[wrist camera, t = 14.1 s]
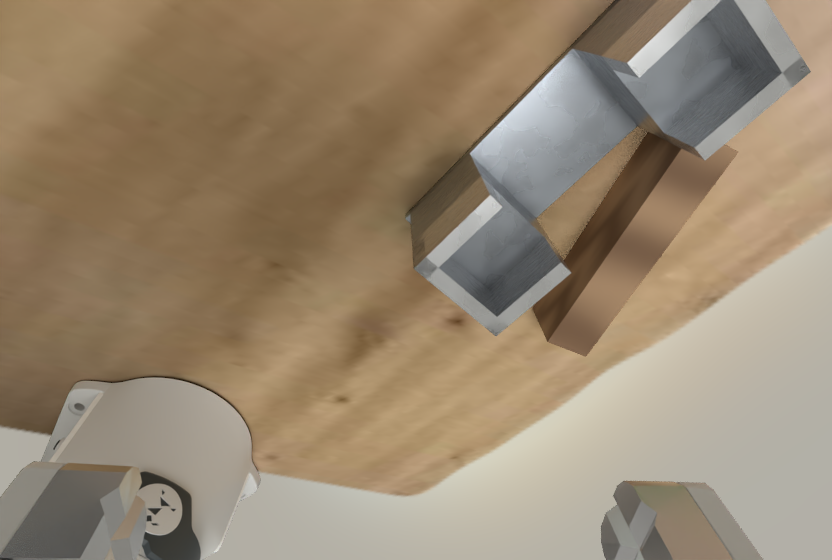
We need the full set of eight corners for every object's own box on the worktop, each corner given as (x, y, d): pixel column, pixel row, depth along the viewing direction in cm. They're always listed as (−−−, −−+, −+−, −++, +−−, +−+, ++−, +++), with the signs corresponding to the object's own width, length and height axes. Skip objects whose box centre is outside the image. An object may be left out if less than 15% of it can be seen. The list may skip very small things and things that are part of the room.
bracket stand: (470, 271, 41) (490, 341, 32) (405, 214, 38) (407, 274, 30) (714, 48, 34) (820, 63, 25) (653, -39, 31) (747, -54, 23)
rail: (566, 320, 44) (585, 356, 39) (531, 306, 43) (547, 341, 38) (697, 133, 37) (738, 151, 32) (658, 113, 36) (695, 128, 31)
